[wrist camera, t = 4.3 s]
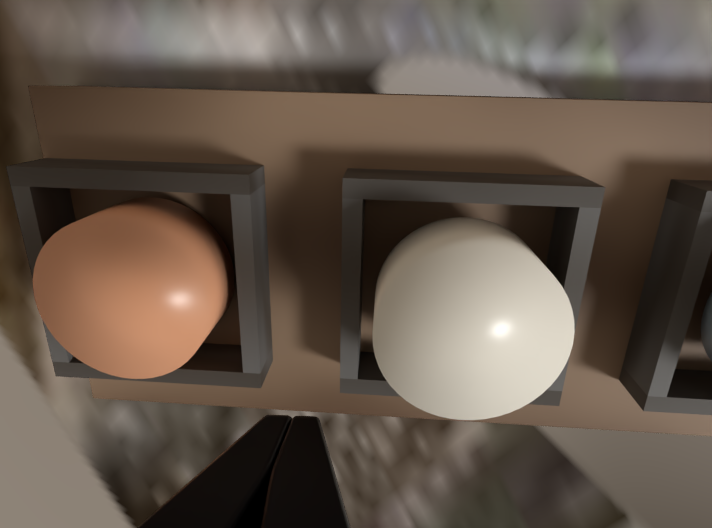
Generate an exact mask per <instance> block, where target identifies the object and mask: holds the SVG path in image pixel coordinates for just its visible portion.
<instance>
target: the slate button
mask: <svg viewBox="0 0 712 528" xmlns="http://www.w3.org/2000/svg"><path fill="white" fill-rule="evenodd" d="M701 338H702V342H703V346H704V349H705V351H706V353H707V355H708V357H709V358H710V360H711V361H712V293H711V295H710V296H709V298H708V300H707V303H706V306H705V308H704V311H703V316H702V321H701Z"/></svg>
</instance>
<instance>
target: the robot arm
mask: <svg viewBox="0 0 712 528" xmlns="http://www.w3.org/2000/svg"><path fill="white" fill-rule="evenodd" d="M137 528H351V527H350V524H349V520H348V517H347V513H346V510H345V506H344V503H343V499H342V496H341V492H340V489H339V485H338V482H337V479H336V475H335V472H334V468H333V465H332V461H331V458H330V454H329V451H328V447H327V444H326V441H325V437H324V434H323V430H322V427H321V423H320V420H319V418H317V417H314V416H295V417H294V418H293V419H292V418H291V417H290V416H288V415H267V416H265V417H263V418H262V419H261V420H260V421H259V422H257V423H256V424H255V425H254V426H253V427H252V428H251V429H249V430H248V431H247V432H246V433H245V434H244V435H243V436H241V437H240V438H239V439H238V440H237V441H236V442H234V443H233V444H232V445H231V446H230V447H229V448H228V449H226V450H225V451H224V452H223V453H222V454H221V455H220V456H218V457H217V458H216V459H215V460H214V461H213V462H212V463H210V464H209V465H208V466H207V467H206V468H205V469H204V470H202V471H201V472H200V473H199V474H198V475H197V476H196V477H194V478H193V479H192V480H191V481H190V482H189V483H188V484H186V485H185V486H184V487H183V488H182V489H181V490H180V491H178V492H177V493H176V494H175V495H174V496H173V497H172V498H170V499H169V500H168V501H167V502H166V503H165V504H163V505H162V506H161V507H160V508H159V509H158V510H157V511H155V512H154V513H153V514H152V515H151V516H150V517H149V518H147V519H146V520H145V521H144V522H143V523H142V524H141V525H139V526H138V527H137Z"/></svg>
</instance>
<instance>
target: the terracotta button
mask: <svg viewBox="0 0 712 528" xmlns="http://www.w3.org/2000/svg"><path fill="white" fill-rule="evenodd" d="M234 284H235V282H234V268H233V263H232V260H231V256H230V254H229V251H228V249H227V247H226V245H225V243H224V242H223V240H222V238H221V237H220V235H219V234H218V233H217V231H216V230H215V229H214V228H213V227H212V226H211V225H210V224H209V223H208V222H207V221H206V220H205V219H204V218H203V217H201V216H200V215H199V214H197V213H196V212H194V211H193V210H191V209H190V208H188V207H186V206H184V205H182V204H179V203H176V202H174V201H171V200H167V199H162V198H155V197H140V198H134V199H129V200H126V201H123V202H120V203H118V204H116V205H113V206H111V207H109V208H106V209H104V210H102V211H99V212H97V213H95V214H92V215H90V216H88V217H85V218H83V219H81V220H78V221H76V222H74V223H71V224H69V225H67V226H65V227H63V228H62V229H60V230H59V231H57V232H56V233H55V234H53V235H52V236H51V237H50V239H49V240H48V241H47V242H46V243H45V245H44V246H43V247H42V249H41V251H40V253H39V255H38V257H37V260H36V263H35V267H34V273H33V291H34V297H35V301H36V304H37V308H38V310H39V313H40V315H41V317H42V319H43V321H44V323H45V325H46V326H47V328H48V330H49V331H50V332H51V334H52V335H53V336H54V338H55V339H56V340H57V341H58V342H59V343H60V344H61V345H62V346H63V347H64V348H65V349H66V350H67V351H68V352H69V353H70V354H72V355H73V356H74V357H76V358H77V359H78V360H80V361H81V362H83V363H85V364H86V365H88V366H90V367H92V368H94V369H96V370H98V371H101V372H104V373H106V374H109V375H113V376H117V377H122V378H130V379H147V378H154V377H158V376H162V375H165V374H168V373H170V372H173V371H174V370H176V369H178V368H180V367H181V366H182V365H184V364H185V363H186V362H187V361H188V360H189V359H190V358H191V357H192V356H193V355H194V354H195V353H196V351H197V350H198V348H199V347H200V346H201V344H202V343H203V342H204V340H205V339H206V337H207V336H208V335H209V333H210V332H211V331H212V329H213V328H214V327H215V325H216V324H217V322H218V321H219V320H220V318H221V317H222V316H223V314H224V313H225V311H226V310H227V308H228V306H229V304H230V302H231V299H232V295H233V291H234Z"/></svg>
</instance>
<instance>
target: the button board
mask: <svg viewBox="0 0 712 528" xmlns="http://www.w3.org/2000/svg"><path fill="white" fill-rule="evenodd" d="M28 87H29V92H30V97H31V102H32V107H33V111H34V116H35V121H36V126H37V130H38V135H39V140H40V145H41V150H42V154H43V159H39V160H34V161H29V162H24V163H20V164H15V165H10V166H6V168H7V173H8V177H9V181H10V185H11V189H12V194H13V198H14V202H15V206H16V210H17V215H18V219H19V223H20V227H21V231H22V236H23V240H24V244H25V248H26V253H27V257H28V261H29V265H30V269H31V274H32V278H33V273H34V267H35V263H36V260H37V257H38V255H39V253H40V251H41V249H42V247H43V246H44V245H45V243H46V242H47V241H48V240H49V239H50V237H51V236H52V235H53V234H55V233H56V232H57V231H59V230H60V229H62V228H63V227H65V226H67V225H69V224H71V223H74V222H76V221H78V220H81V219H83V218H85V217H88V216H90V215H92V214H95V213H97V212H99V211H102V210H104V209H106V208H109V207H111V206H113V205H116V204H118V203H120V202H123V201H126V200H129V199H134V198H140V197H155V198H162V199H167V200H171V201H174V202H176V203H179V204H182V205H184V206H186V207H188V208H190V209H191V210H193V211H194V212H196V213H197V214H199V215H200V216H201V217H203V218H204V219H205V220H206V221H207V222H208V223H209V224H210V225H211V226H212V227H213V228H214V229H215V230H216V231H217V233H218V234H219V235H220V237H221V238H222V240H223V242H224V243H225V245H226V247H227V249H228V251H229V254H230V256H231V260H232V263H233V268H234V282H235V284H234V291H233V295H232V299H231V302H230V304H229V306H228V308H227V310H226V311H225V313H224V314H223V316H222V317H221V318H220V320H219V321H218V322H217V324H216V325H215V327H214V328H213V329H212V331H211V332H210V333H209V335H208V336H207V337H206V339H205V340H204V342H203V343H202V344H201V346H200V347H199V348H198V350H197V351H196V353H195V354H194V355H193V356H192V357H191V358H190V359H189V360H188V361H187V362H186V363H185V364H184V365H182V366H181V367H180V368H178V369H176V370H174V371H173V372H170V373H168V374H165V375H162V376H158V377H154V378H147V379H130V378H122V377H117V376H113V375H109V374H106V373H104V372H101V371H98V370H96V369H94V368H92V367H90V366H88V365H86V364H85V363H83V362H81V361H80V360H78V359H77V358H76V357H74V356H73V355H72V354H70V353H69V352H68V351H67V350H66V349H65V348H64V347H63V346H62V345H61V344H60V343H59V342H58V341H57V340H56V339H55V338H54V336H53V335H52V334H51V332H50V331H49V330H48V328H47V326H46V325H45V323H44V321H43V324H44V328H45V332H46V337H47V341H48V345H49V349H50V353H51V358H52V362H53V366H54V370H55V374H56V376H63V377H80V378H89V380H90V384H91V389H92V394H93V398H101V399H117V400H133V401H149V402H165V403H182V404H198V405H214V406H230V407H246V408H262V409H278V410H294V411H311V412H327V413H343V414H359V415H375V416H391V417H407V418H423V419H440V420H456V421H472V422H488V423H504V424H520V425H536V426H552V427H570V428H586V429H601V430H618V431H633V432H650V433H665V434H682V435H699V436H712V361H711V360H710V358H709V357H708V355H707V353H706V351H705V349H704V346H703V342H702V338H701V321H702V316H703V311H704V308H705V306H706V303H707V300H708V298H709V296H710V295H711V293H712V102H689V101H649V100H610V99H570V98H531V97H491V96H452V95H451V96H450V95H449V96H448V95H412V94H411V95H410V94H409V95H408V94H373V93H334V92H294V91H255V90H215V89H176V88H137V87H97V86H28ZM455 217H470V218H479V219H483V220H488V221H491V222H494V223H496V224H499V225H501V226H503V227H505V228H507V229H508V230H510V231H512V232H513V233H514V234H516V235H517V236H518V237H519V238H520V239H521V240H522V241H523V242H525V243H526V244H527V246H528V247H529V248H530V249H531V250H532V251H533V252H534V254H535V255H536V256H537V257H538V258H539V259H540V260H541V262H542V263H543V264H544V265H545V266H546V267H547V268H548V270H549V271H550V272H551V273H552V274H553V275H554V276H555V278H556V279H557V280H558V282H559V283H560V284H561V286H562V287H563V289H564V291H565V293H566V294H567V296H568V298H569V301H570V304H571V307H572V310H573V316H574V330H575V333H574V340H573V346H572V349H571V353H570V356H569V358H568V360H567V363H566V365H565V367H564V368H563V370H562V372H561V373H560V375H559V376H558V378H557V379H556V380H555V381H554V382H553V384H552V385H551V386H550V387H549V388H548V389H547V390H546V391H545V392H544V393H543V394H541V395H540V396H539V397H537V398H536V399H535V400H533V401H532V402H530V403H529V404H527V405H525V406H523V407H522V408H520V409H517V410H515V411H513V412H511V413H508V414H504V415H501V416H498V417H493V418H488V419H481V420H457V419H449V418H444V417H440V416H436V415H433V414H430V413H428V412H425V411H423V410H421V409H419V408H417V407H415V406H414V405H412V404H410V403H409V402H407V401H406V400H405V399H403V398H402V397H401V396H400V395H399V394H397V392H396V391H395V390H394V389H393V388H392V387H391V386H390V385H389V383H388V382H387V380H386V379H385V378H384V376H383V374H382V372H381V370H380V368H379V366H378V364H377V361H376V358H375V354H374V348H373V334H372V333H373V319H374V304H375V291H376V283H377V279H378V275H379V272H380V270H381V268H382V265H383V263H384V262H385V260H386V258H387V256H388V255H389V254H390V252H391V251H392V250H393V249H394V247H395V246H396V245H397V244H398V243H399V242H400V241H401V240H402V239H404V238H405V237H406V236H408V235H409V234H410V233H412V232H413V231H415V230H417V229H419V228H420V227H422V226H425V225H427V224H429V223H432V222H435V221H439V220H442V219H448V218H455ZM42 320H43V319H42Z"/></svg>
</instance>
